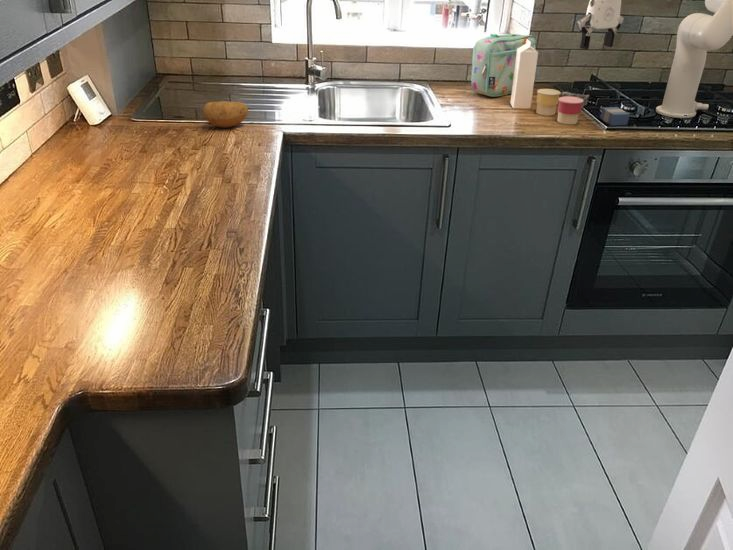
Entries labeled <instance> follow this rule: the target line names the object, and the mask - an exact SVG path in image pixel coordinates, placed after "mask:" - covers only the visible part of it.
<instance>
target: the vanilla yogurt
mask: <svg viewBox="0 0 733 550" xmlns="http://www.w3.org/2000/svg"><path fill="white" fill-rule="evenodd" d="M536 93H537V94H536V100H535V102H536V109H535V113H536V114H537V115H540V116H546V117H549V116H554V115H556V110H557V106H558V105H557V104H558V101H559V95H560V93H561V91H560V90H558V89H555V88H554V89H553V88H540V89H537V90H536Z"/></svg>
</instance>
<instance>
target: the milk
mask: <svg viewBox="0 0 733 550" xmlns="http://www.w3.org/2000/svg"><path fill="white" fill-rule="evenodd" d="M538 57H539V51H538V50H537V49H536V50H535V49H534V48H532V47H531V42H530V41H529V40H528V39H527V41H526V44H525V45H523V46H521V47H519V48H518V49H517V53H516V61H515V69H514V77H513V85H512V93H511V94H510V102H509V104H510V106H511V107H512V108H513V109H531V106H532V100H533V94H534V86H535V80H536V79H535V78H536V71H537V65H538Z"/></svg>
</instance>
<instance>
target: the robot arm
mask: <svg viewBox="0 0 733 550" xmlns="http://www.w3.org/2000/svg"><path fill="white" fill-rule="evenodd" d="M704 5H705V8H706V9H707V10H708V11H709V12H711V13H714V14H713V15H711V14H707V13H703V12H695V13H691V14H689V15H687V16H686V17H684V18H683V20H681V22H680V23H679V25H678V28H677V33H676V43H675V44H676V45H675V51H674V56H673V60H672V64H671V68H670V72H669V76H668V79H667V83H666V88H665V90H664V91H665V92H664V95H663V100H662V104H661V105H658V106H656V107H655V112H656V114H659V115H661V116H664V117H668V118H673V119H675V118H676V119H690V118H694V117H696V115H697V111H698V110H700V111H701V110H702V111H708V110H709V104H708V103H703V102H697V101H696V97H697V93H698V89H699V86H700V82H701V80H702V75H703V72H704V68H705V66H706V62H707V54H708V53H707V52H708V51H709V52H713V51H717V50H719V49H720V48H723V47H724V46H725V45H726V44H728V42H729V41H730V40H731V38H733V0H704ZM621 10H622V0H589V2H588V5H587V9H586V13H585V16H583V17H582V18H580V19H579V20H577V25H578V30H579V32H580V35H581V40H580V46H579V49H583V50H589V47H590V43H591V33H592V32H593V31H594V30H596V31H597V30H598V31H599V30H606V32H605V37H604V43H603V46H604V47H608V48H612V47H613V45H614V40H615V37H616V36H615V35H616V34H618V30H619V29H620V28H621V26H622V24H623V22H624V20H625V17H623V16H622V15H621ZM684 115H687V116H684Z"/></svg>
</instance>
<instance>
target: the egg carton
mask: <svg viewBox="0 0 733 550" xmlns="http://www.w3.org/2000/svg"><path fill="white" fill-rule="evenodd" d="M565 96H571V97H578V98H581V99H583V103H582V107H581V109H583V108H584V107H585V106H587V105H588V100H589V98H590V94H583V93H582V94H580V93H572V92H569V91H563V92H560V95H559V98H560V97H565ZM558 105H559V101H558V104H557V105H556V106H558Z"/></svg>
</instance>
